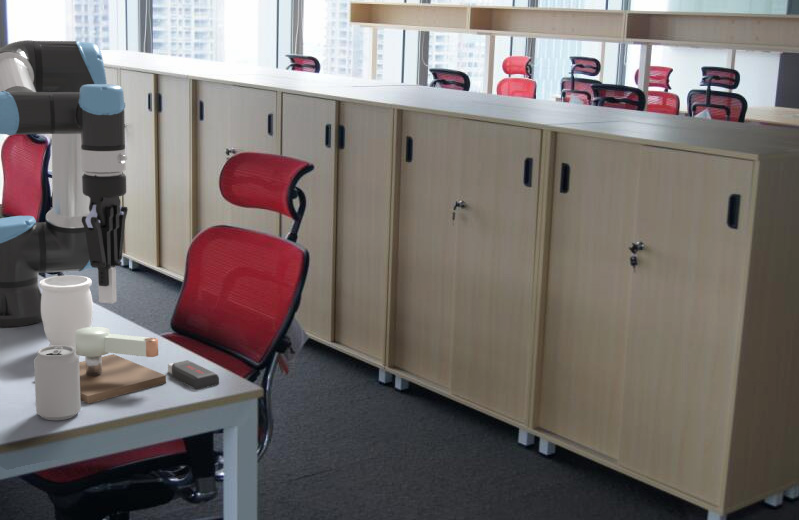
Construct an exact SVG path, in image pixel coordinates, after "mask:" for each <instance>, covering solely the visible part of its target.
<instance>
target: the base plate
mask: <svg viewBox="0 0 799 520" xmlns="http://www.w3.org/2000/svg"><path fill="white" fill-rule="evenodd" d="M79 372H80V400H81V402H82V403H83V402H84V403H86V404H87V405H90V404H93V403H97V402H100V401H104V400H107V399H111V398H115V397H118V396H119V397H120V396H122V395H127V394H129V393H130V394H131V393H133V392H138V391H141V390H144V389H148V388H152V387H155V386H159V385H162V384H163V385H164V384H166V383H167V375H166V374H163V373H161V372H159V371H157V370H154V369H151V368H149V367H146V366H144V365H140V364H138V363H136V362H134V361H132V360H128V359H126V358H123V357H122V356H119V355H116V354H115V353H112V354H107V355H103V356H102V374H101V375H99V376H87V375H86V362H85V360H83V361H79Z"/></svg>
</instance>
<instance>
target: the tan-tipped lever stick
mask: <svg viewBox="0 0 799 520" xmlns="http://www.w3.org/2000/svg"><path fill="white" fill-rule="evenodd" d="M75 341H76V354H77V355H78V356H81V357H85V356H86V357H94V356H102V357H103V356H106V355H109V353H110V354H111V353H112V354H115V355H116V354H118V355H128V356H129V355H130V356H136V357H137V356H138V357H146V358H154V357H155V358H156V357H157V356H159V339H158V338H157V337H148V336H136V335H129V334H128V335H125V334H118V333H117V334H116V333H111V330H110V329H109V328H107V327H104V326H103V327H102V326H91V327H86V328H81V329H78V330H77V331H75Z"/></svg>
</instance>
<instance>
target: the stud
mask: <svg viewBox="0 0 799 520" xmlns="http://www.w3.org/2000/svg"><path fill="white" fill-rule="evenodd" d="M84 357H85V358H84V361H85V362H86V375H87V376H99V375H101V374H102V357H103V355H102V356H94V357H86V356H84Z"/></svg>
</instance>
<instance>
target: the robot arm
mask: <svg viewBox="0 0 799 520" xmlns="http://www.w3.org/2000/svg"><path fill="white" fill-rule="evenodd" d="M104 63H105V62H104V59H103V55H102V53H101V49H100V48H99V46H98V45H97V44H95V43H94V42H86V41H78V40H75V41H73V40H68V41H67V40H49V41H48V40H18V41H14V42H11V43H8V44H5V45H4V46H1V47H0V135H7V136H14V135H51V179H52V180H51V181H52V183H51V187H52V188H51V191H52V192H51V193H52V194H51V195H52V198H51V199H52V208H51V209H49V210H48V211H47V213H46V214H45V221H44V222H43V221H41V222H37V220H36V219H35V217H34V216H32V215H15V216H9V217H7V216H6V217H1V218H0V328H2V327H3V328H4V327H5V328H8V327H10V328H12V327H13V328H14V327H23V326H28V325H34V324H38V323H40V322H43V321H42V316H41V296H42V292H41V291H42V290H41V289H40V285H39V279H38V278H39V277H38V274H43V273H57V272H60V273H61V272H84V271H89V270H96V269H97V283H98V284H97V285H98V286H97V287H98V303H102V304H103V303H104V304H112V305H113V304H114V303H117V300H118V299H117V298H118V297H117V270H116V268H117V267H121V265H122V260H123V249H124V240H125V229H126V228H125V227H126V219H127V214H128V210H129V209H128V207H127V206H122V205H121V199H120V197H122V196H125V195H126V193H127V175H126V174H125V173H123V172H125V171H126V162H127V159H128V157H127V155H126V141H125V140H126V136H125V135H126V132H125V131H126V130H125V128H126V127H125V125H126V124H125V117H126V116H125V108H126V102H125V97H124V93H125V92H124V89H123V87H122V86H121V85H118V84H111V83H109V84H107V83H108V82H107V77H106V70H105V64H104Z"/></svg>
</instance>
